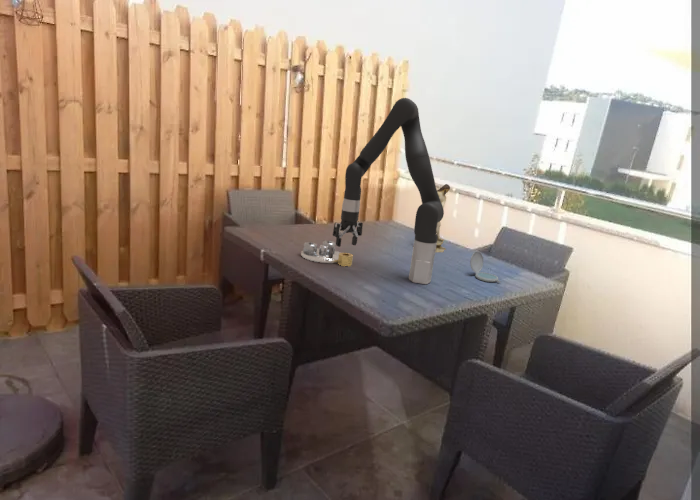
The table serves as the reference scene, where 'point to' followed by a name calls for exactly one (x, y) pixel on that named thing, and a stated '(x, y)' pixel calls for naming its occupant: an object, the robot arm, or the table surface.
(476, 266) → the pocket watch
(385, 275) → the table surface
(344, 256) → the planet gear
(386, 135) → the robot arm
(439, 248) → the statue
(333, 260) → the carrier
